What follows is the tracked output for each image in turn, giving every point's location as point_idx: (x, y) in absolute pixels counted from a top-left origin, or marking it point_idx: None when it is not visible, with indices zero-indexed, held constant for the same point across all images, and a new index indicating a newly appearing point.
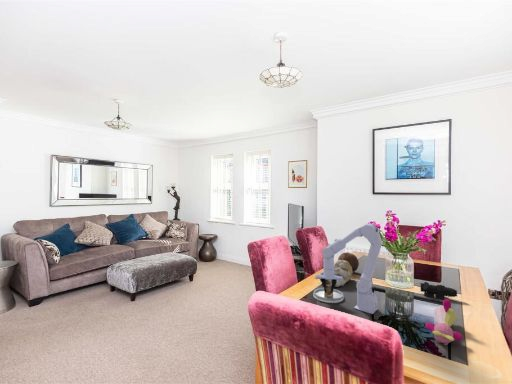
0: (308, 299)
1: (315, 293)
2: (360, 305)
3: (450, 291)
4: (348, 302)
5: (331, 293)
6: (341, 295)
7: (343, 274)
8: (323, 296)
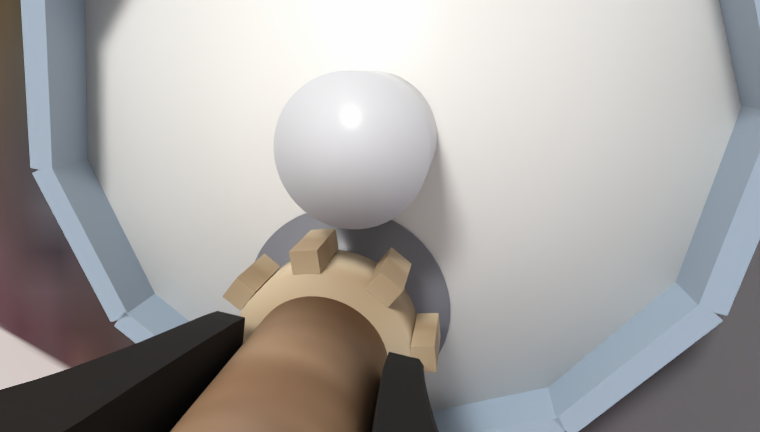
0: (15, 263)
1: (97, 49)
2: None
3: None
4: (735, 402)
5: (398, 341)
6: (722, 143)
7: None
8: (255, 218)
